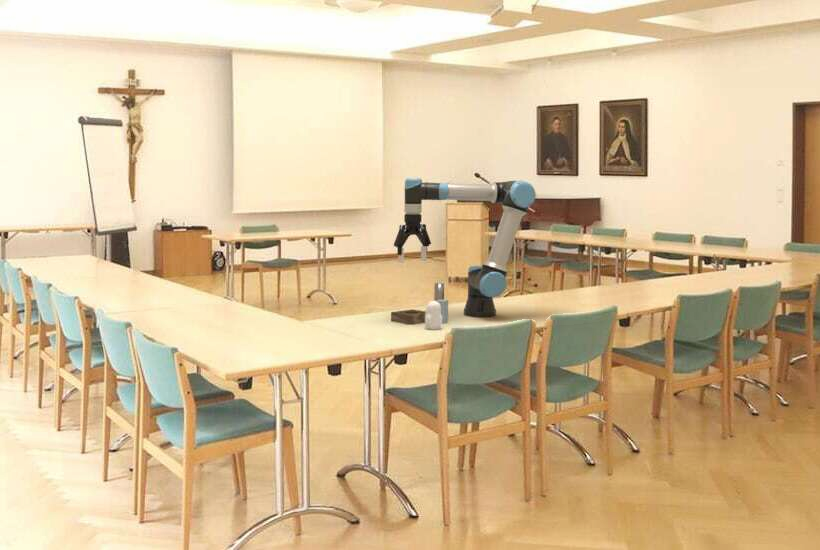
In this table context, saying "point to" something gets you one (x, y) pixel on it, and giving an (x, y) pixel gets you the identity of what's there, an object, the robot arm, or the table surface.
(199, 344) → the table surface
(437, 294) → the round bit
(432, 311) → the figurine
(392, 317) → the socket block
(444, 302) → the square bar
